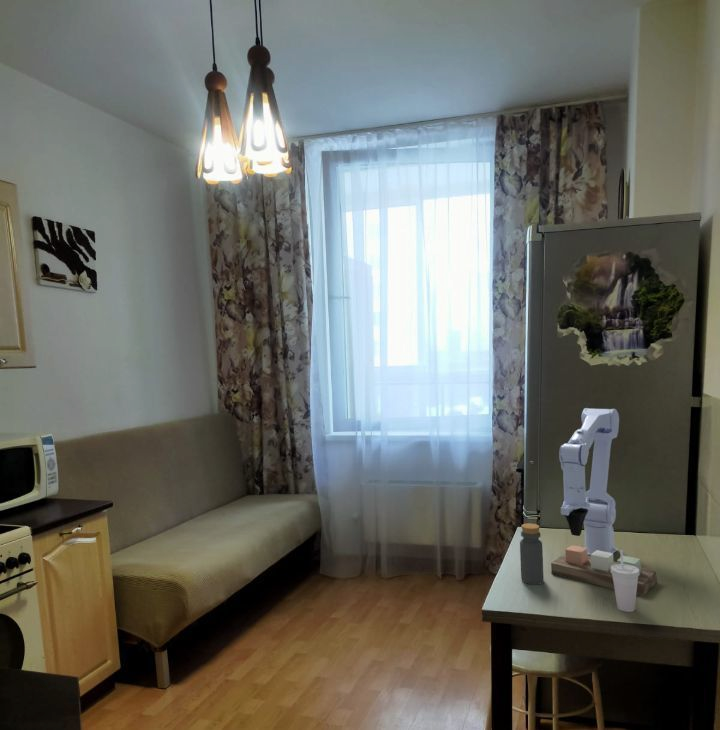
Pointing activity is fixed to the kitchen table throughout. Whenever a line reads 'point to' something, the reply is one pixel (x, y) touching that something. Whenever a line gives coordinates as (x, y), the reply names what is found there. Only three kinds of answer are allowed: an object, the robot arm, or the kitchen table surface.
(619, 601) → the smoothie
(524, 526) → the bottle
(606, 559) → the white cube
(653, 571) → the brown wooden tray
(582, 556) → the salmon cube
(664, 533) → the kitchen table surface
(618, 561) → the green cube
